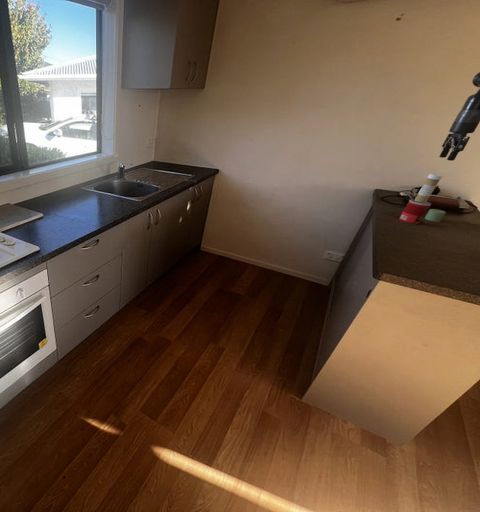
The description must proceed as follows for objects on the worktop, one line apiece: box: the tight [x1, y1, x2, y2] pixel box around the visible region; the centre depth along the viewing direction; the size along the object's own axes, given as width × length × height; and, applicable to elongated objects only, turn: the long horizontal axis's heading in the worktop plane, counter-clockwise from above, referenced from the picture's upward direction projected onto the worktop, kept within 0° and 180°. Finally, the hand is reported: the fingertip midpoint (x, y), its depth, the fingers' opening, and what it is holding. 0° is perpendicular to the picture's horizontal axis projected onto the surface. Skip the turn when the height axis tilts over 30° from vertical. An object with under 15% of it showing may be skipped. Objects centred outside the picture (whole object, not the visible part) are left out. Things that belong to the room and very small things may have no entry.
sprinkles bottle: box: [414, 173, 443, 203], centre depth 143 cm, size 5×5×14 cm
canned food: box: [398, 199, 432, 225], centre depth 149 cm, size 8×8×11 cm
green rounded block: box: [424, 208, 447, 223], centre depth 153 cm, size 6×6×5 cm
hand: (446, 158), depth 136 cm, fingers open, 8 cm apart
